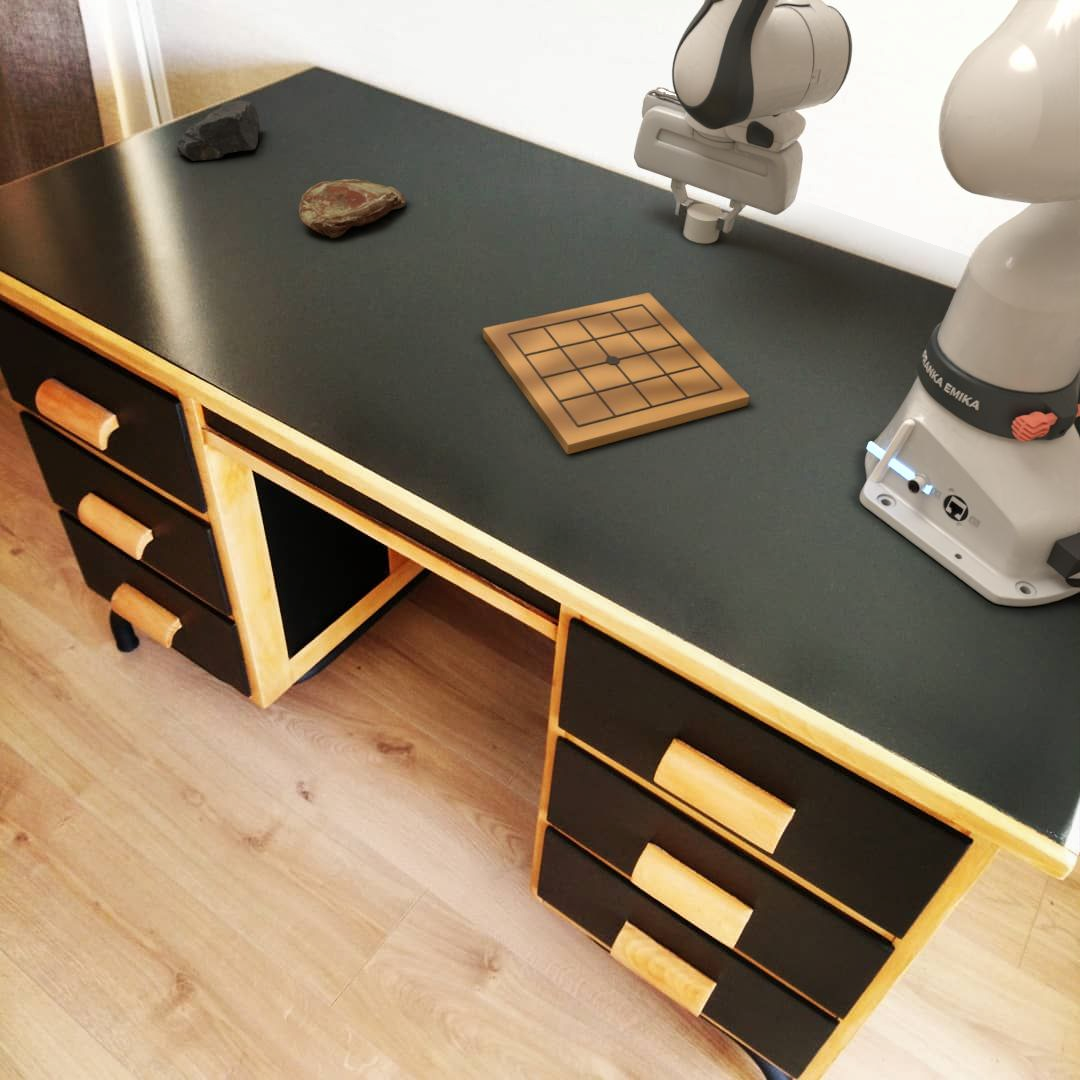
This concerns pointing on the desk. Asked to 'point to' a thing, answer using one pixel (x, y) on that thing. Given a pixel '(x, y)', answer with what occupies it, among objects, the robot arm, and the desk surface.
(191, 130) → the rock
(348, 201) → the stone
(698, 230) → the game stone
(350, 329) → the desk surface
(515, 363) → the grid board
